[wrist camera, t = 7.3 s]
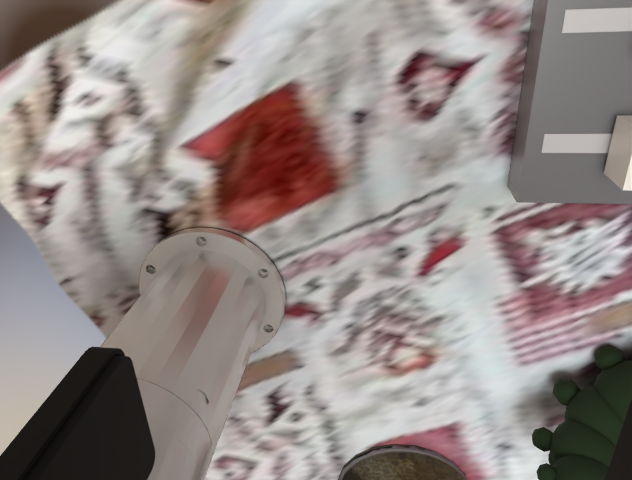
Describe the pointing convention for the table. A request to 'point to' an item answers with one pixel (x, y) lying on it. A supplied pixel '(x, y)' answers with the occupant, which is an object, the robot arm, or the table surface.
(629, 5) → the power strip
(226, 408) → the robot arm
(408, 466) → the lantern
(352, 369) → the table surface
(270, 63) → the table surface
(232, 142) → the table surface
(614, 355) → the toy figurine
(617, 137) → the switch
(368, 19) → the table surface
